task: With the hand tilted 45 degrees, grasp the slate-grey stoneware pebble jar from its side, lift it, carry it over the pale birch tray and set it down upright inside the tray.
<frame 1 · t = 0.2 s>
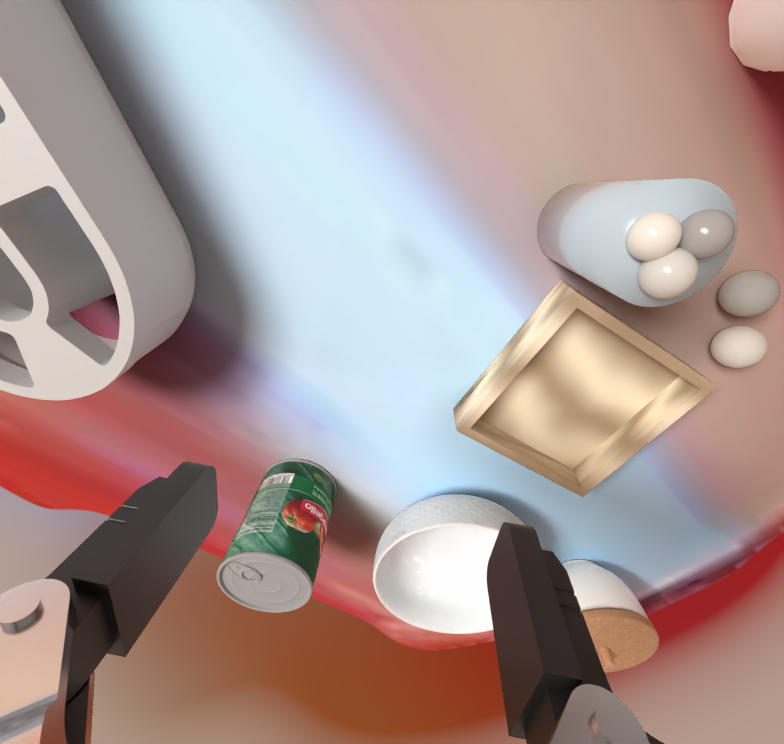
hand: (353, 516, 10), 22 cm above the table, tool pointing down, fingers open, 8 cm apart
lidded jar: (574, 573, 46), on the table
ice cube tray: (48, 173, 27), on the table
cereal bowl: (452, 524, 43), on the table
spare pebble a: (731, 287, 28), on the table
pebble jar: (576, 225, 27), on the table
canned tomato: (300, 484, 41), on the table
birch tray: (566, 388, 33), on the table
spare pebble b: (722, 338, 30), on the table
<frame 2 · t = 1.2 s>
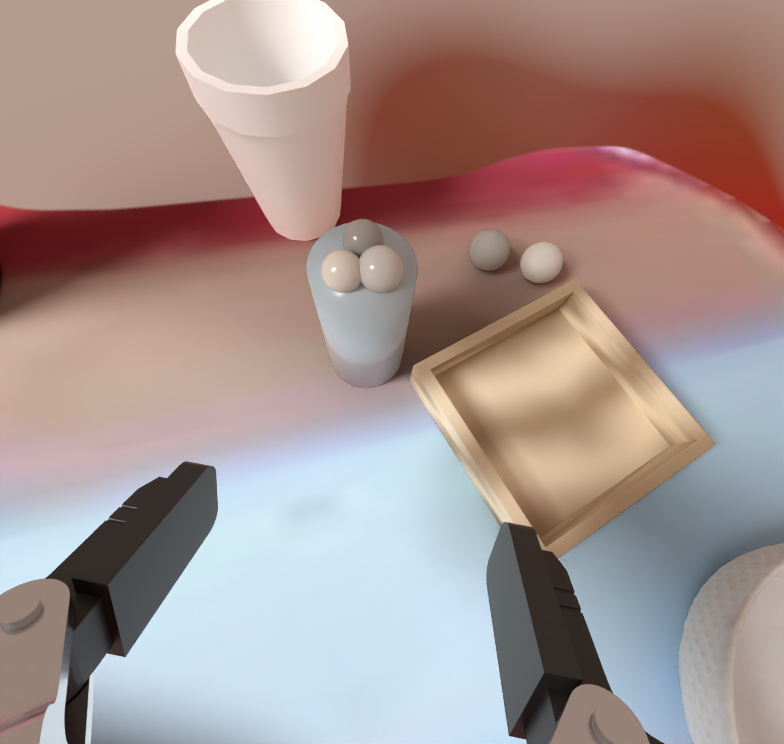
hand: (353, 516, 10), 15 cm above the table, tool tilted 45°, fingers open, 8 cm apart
cereal bowl: (770, 685, 23), on the table
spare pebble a: (484, 262, 32), on the table
pebble jar: (366, 353, 29), on the table
foam cup: (304, 213, 33), on the table
birch tray: (541, 415, 28), on the table
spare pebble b: (533, 274, 32), on the table
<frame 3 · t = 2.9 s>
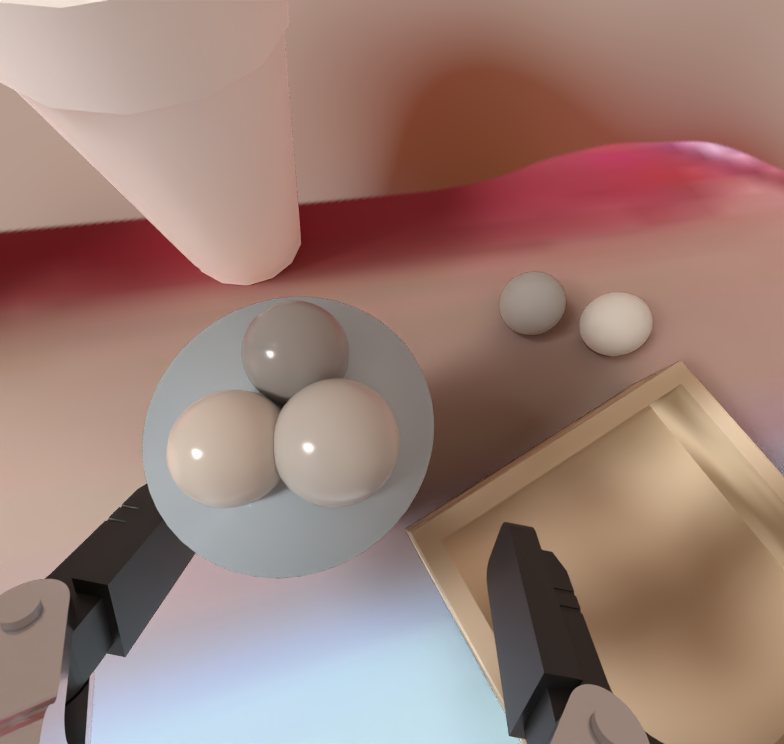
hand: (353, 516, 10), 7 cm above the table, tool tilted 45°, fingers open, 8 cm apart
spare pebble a: (520, 318, 21), on the table
pebble jar: (334, 479, 17), on the table
foam cup: (247, 241, 22), on the table
birch tray: (626, 592, 16), on the table
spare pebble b: (597, 338, 21), on the table
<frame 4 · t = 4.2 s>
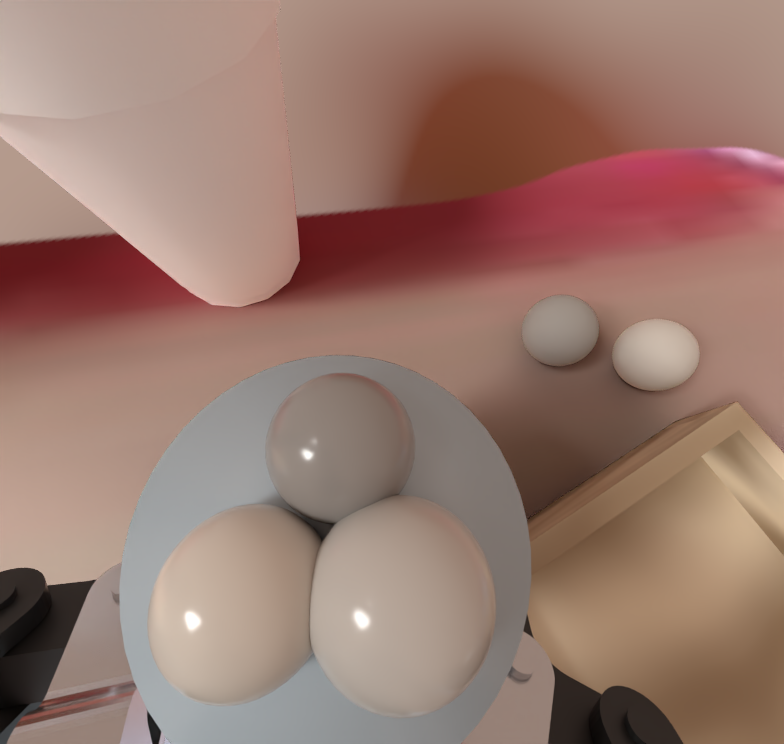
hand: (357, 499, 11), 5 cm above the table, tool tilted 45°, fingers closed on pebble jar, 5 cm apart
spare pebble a: (544, 345, 19), on the table
pebble jar: (356, 528, 15), on the table, touching gripper
foam cup: (241, 257, 20), on the table
birch tray: (674, 675, 14), on the table
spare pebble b: (631, 368, 18), on the table
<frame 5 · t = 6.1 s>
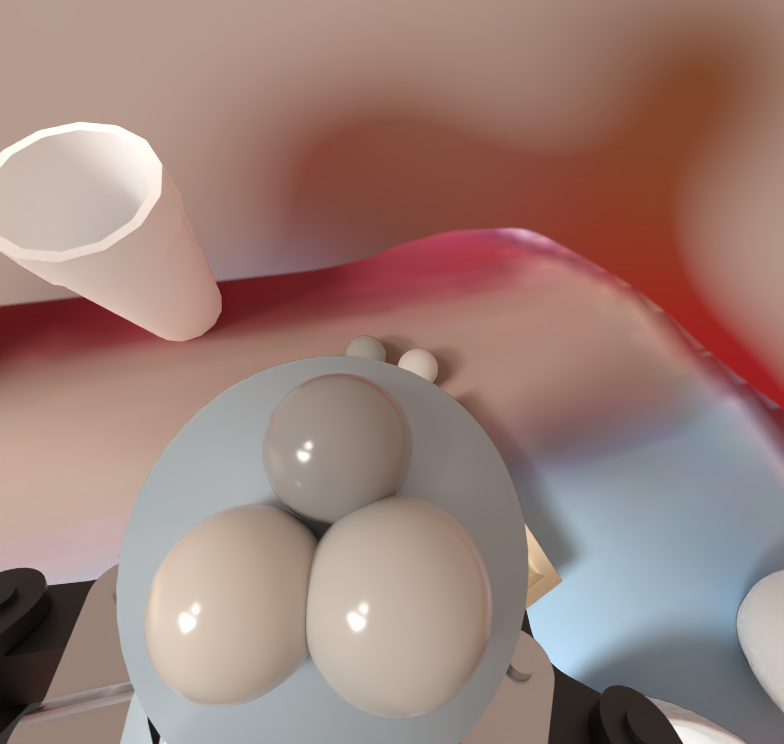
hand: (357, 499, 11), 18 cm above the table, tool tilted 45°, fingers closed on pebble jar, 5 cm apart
lidded jar: (776, 637, 27), on the table
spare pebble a: (366, 362, 31), on the table
pebble jar: (355, 528, 15), point 13 cm above the table, touching gripper
foam cup: (185, 308, 32), on the table
birch tray: (406, 535, 27), on the table
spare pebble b: (415, 375, 31), on the table
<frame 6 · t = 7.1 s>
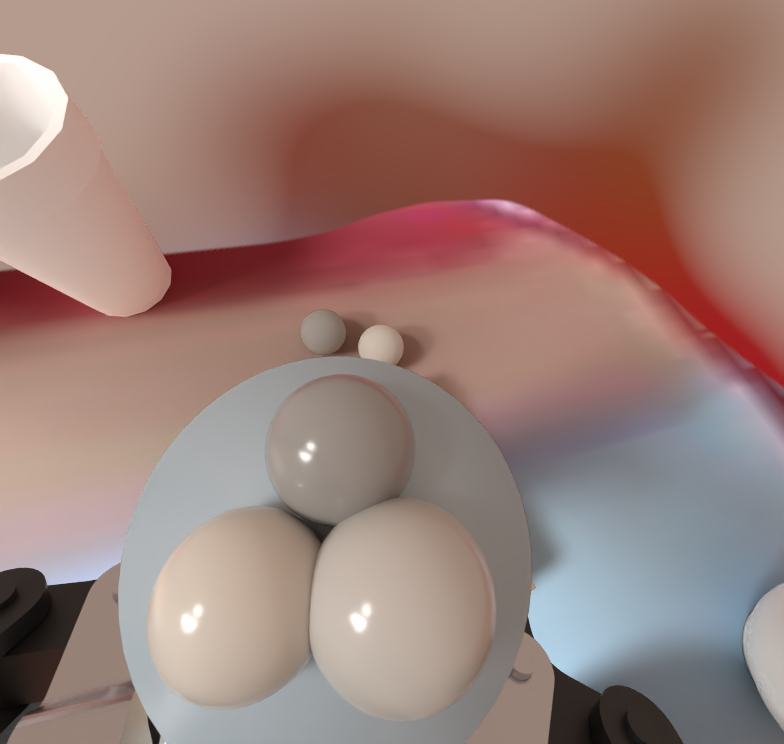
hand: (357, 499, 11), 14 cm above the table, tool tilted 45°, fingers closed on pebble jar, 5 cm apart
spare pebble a: (326, 341, 28), on the table
pebble jar: (356, 529, 15), point 10 cm above the table, touching gripper
foam cup: (131, 282, 30), on the table
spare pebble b: (380, 356, 28), on the table
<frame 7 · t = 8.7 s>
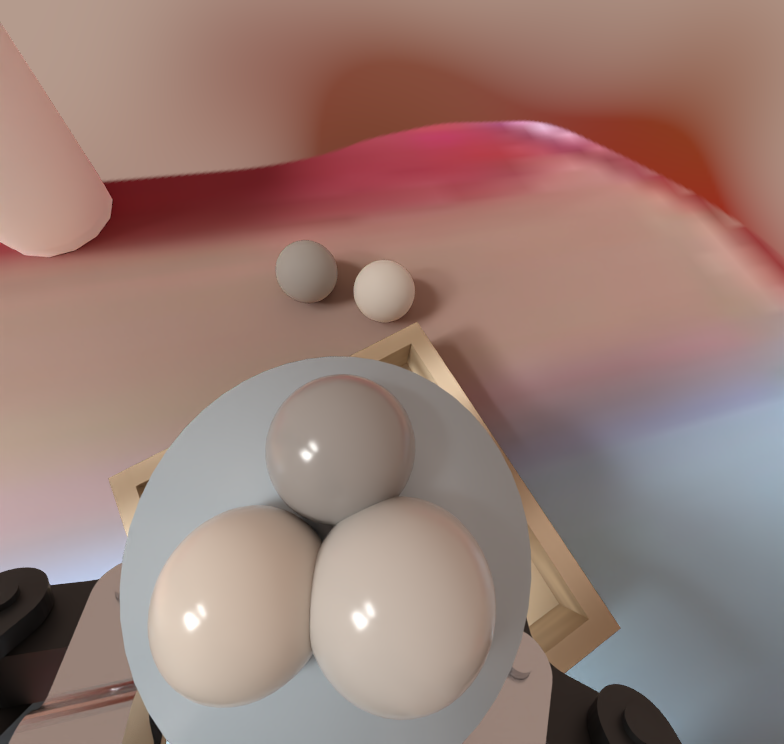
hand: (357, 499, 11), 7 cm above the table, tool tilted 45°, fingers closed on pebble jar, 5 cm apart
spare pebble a: (311, 288, 22), on the table
pebble jar: (356, 528, 15), point 2 cm above the table, touching gripper
foam cup: (59, 215, 23), on the table
birch tray: (358, 543, 17), on the table
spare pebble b: (383, 307, 21), on the table
when the fingers open (7 cm above the table, at t = 8.8 s): pebble jar drops 1 cm, resting on birch tray.
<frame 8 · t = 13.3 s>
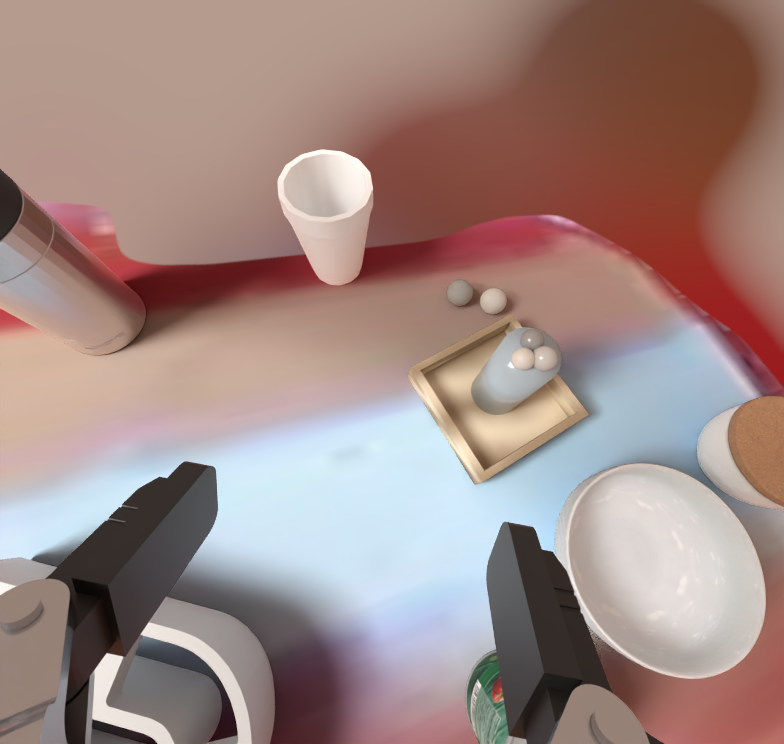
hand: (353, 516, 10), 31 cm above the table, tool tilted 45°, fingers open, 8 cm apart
lidded jar: (722, 461, 43), on the table
ice cube tray: (126, 691, 34), on the table
cereal bowl: (616, 553, 39), on the table
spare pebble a: (457, 299, 49), on the table
pebble jar: (494, 392, 44), point 1 cm above the table, touching birch tray
foam cup: (337, 265, 50), on the table
canned tomato: (507, 699, 34), on the table
birch tray: (490, 399, 44), on the table
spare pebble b: (489, 307, 48), on the table
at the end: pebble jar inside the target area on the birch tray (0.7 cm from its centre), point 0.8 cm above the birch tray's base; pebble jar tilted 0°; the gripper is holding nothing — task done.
